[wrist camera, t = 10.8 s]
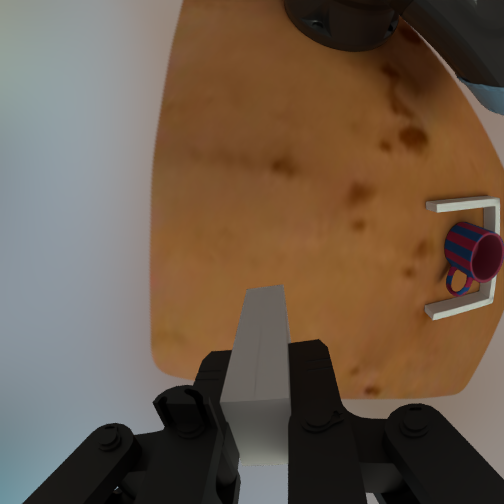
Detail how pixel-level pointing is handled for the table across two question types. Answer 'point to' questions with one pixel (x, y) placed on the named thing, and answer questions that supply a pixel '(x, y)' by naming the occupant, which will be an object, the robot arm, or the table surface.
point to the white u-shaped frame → (486, 289)
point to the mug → (473, 254)
